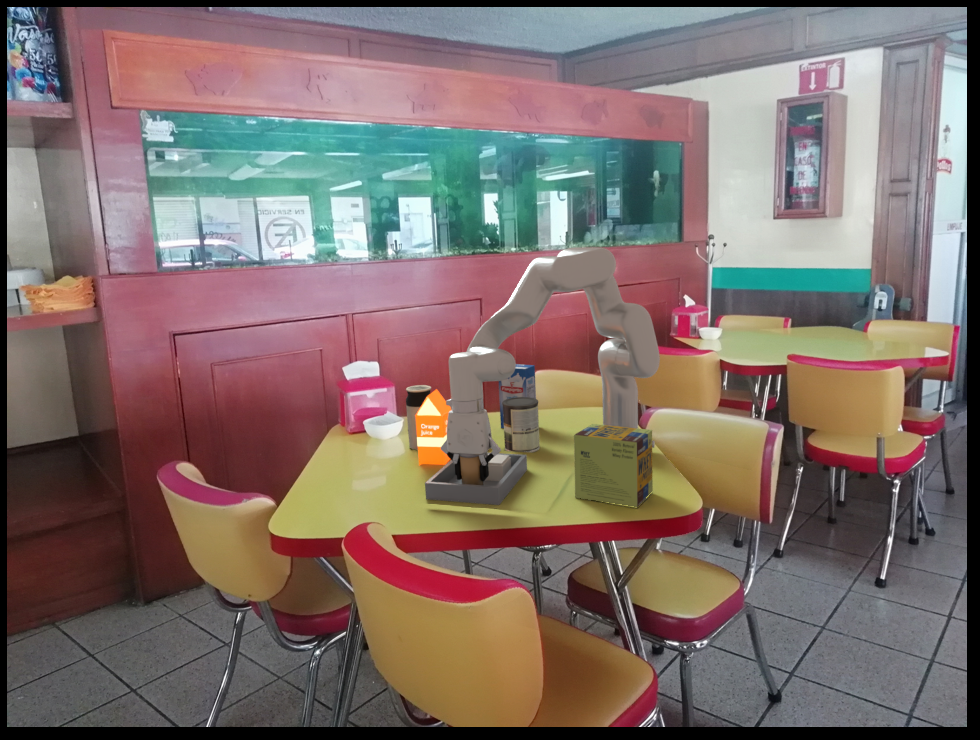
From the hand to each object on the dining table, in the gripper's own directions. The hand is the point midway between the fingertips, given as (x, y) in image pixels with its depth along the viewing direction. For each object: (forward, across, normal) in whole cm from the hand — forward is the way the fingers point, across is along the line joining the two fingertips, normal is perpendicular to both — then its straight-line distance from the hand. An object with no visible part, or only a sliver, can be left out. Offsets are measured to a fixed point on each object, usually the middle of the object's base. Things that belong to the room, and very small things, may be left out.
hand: (472, 478), depth 165 cm
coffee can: (+5, +2, +37) cm, 37 cm away
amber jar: (+2, 0, 0) cm, 2 cm away
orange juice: (+4, -18, +21) cm, 28 cm away
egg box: (+3, 0, +11) cm, 11 cm away
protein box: (+5, +33, +6) cm, 34 cm away
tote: (+4, 0, +5) cm, 6 cm away
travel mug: (+4, -28, +34) cm, 44 cm away
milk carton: (+5, -5, +58) cm, 58 cm away
